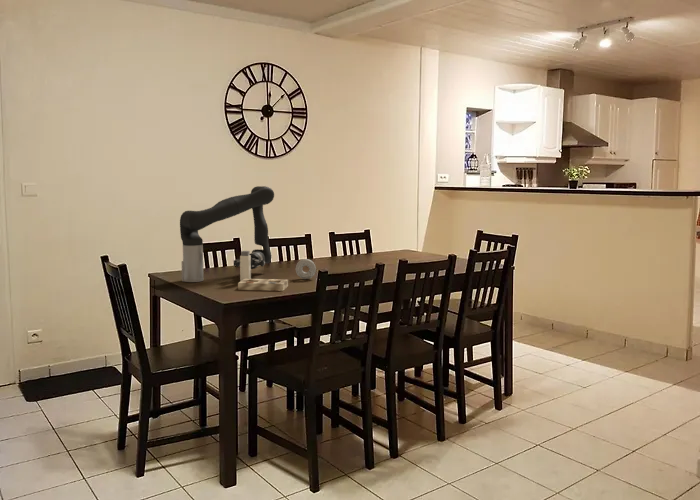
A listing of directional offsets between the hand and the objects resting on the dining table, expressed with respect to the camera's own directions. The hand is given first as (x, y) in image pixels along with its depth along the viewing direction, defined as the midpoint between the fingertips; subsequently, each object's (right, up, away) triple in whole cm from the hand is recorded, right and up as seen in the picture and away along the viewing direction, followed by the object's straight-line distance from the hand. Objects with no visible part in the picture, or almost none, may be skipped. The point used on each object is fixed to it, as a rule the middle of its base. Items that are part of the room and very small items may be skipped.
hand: (245, 264), depth 294 cm
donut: (+27, -7, +13) cm, 31 cm away
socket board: (+10, -10, -12) cm, 18 cm away
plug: (0, -9, 0) cm, 9 cm away
